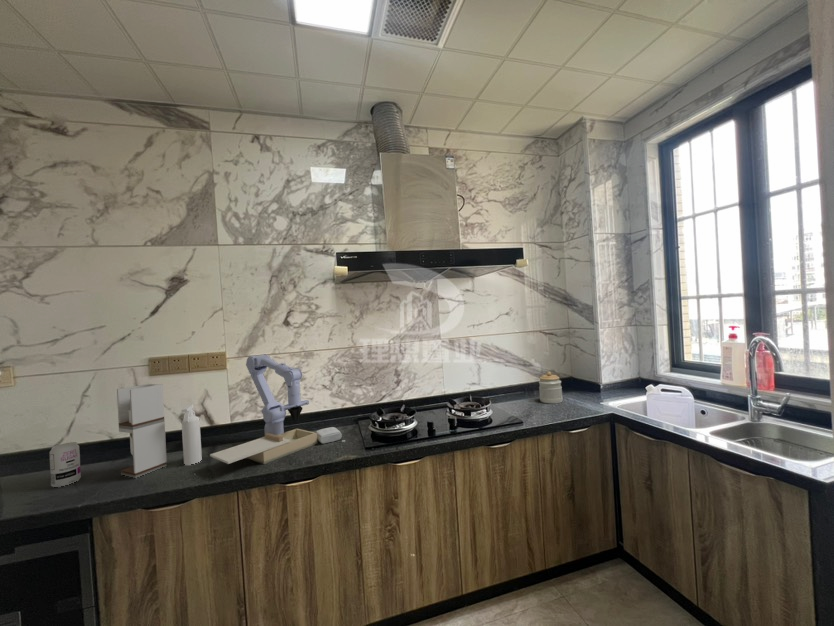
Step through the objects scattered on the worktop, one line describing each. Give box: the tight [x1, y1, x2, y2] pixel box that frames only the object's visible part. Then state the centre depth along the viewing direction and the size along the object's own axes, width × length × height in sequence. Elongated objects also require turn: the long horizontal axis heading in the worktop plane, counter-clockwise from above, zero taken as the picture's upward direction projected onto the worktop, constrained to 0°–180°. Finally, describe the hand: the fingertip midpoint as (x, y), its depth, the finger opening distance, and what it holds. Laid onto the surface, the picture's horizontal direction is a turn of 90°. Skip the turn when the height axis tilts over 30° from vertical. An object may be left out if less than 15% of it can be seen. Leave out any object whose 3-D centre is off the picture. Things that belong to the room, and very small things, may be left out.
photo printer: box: [315, 426, 343, 444], centre depth 167 cm, size 10×4×12 cm
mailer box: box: [245, 428, 318, 465], centre depth 156 cm, size 16×26×5 cm, turn 143°
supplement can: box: [48, 441, 82, 488], centre depth 136 cm, size 8×8×15 cm
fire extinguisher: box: [181, 403, 203, 466], centre depth 150 cm, size 7×12×25 cm, turn 13°
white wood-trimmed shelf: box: [116, 383, 168, 479], centre depth 144 cm, size 11×11×35 cm
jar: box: [538, 371, 564, 404], centre depth 207 cm, size 13×13×18 cm
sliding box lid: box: [209, 433, 290, 465], centre depth 145 cm, size 16×26×3 cm, turn 143°
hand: (295, 422), depth 166 cm, fingers closed
